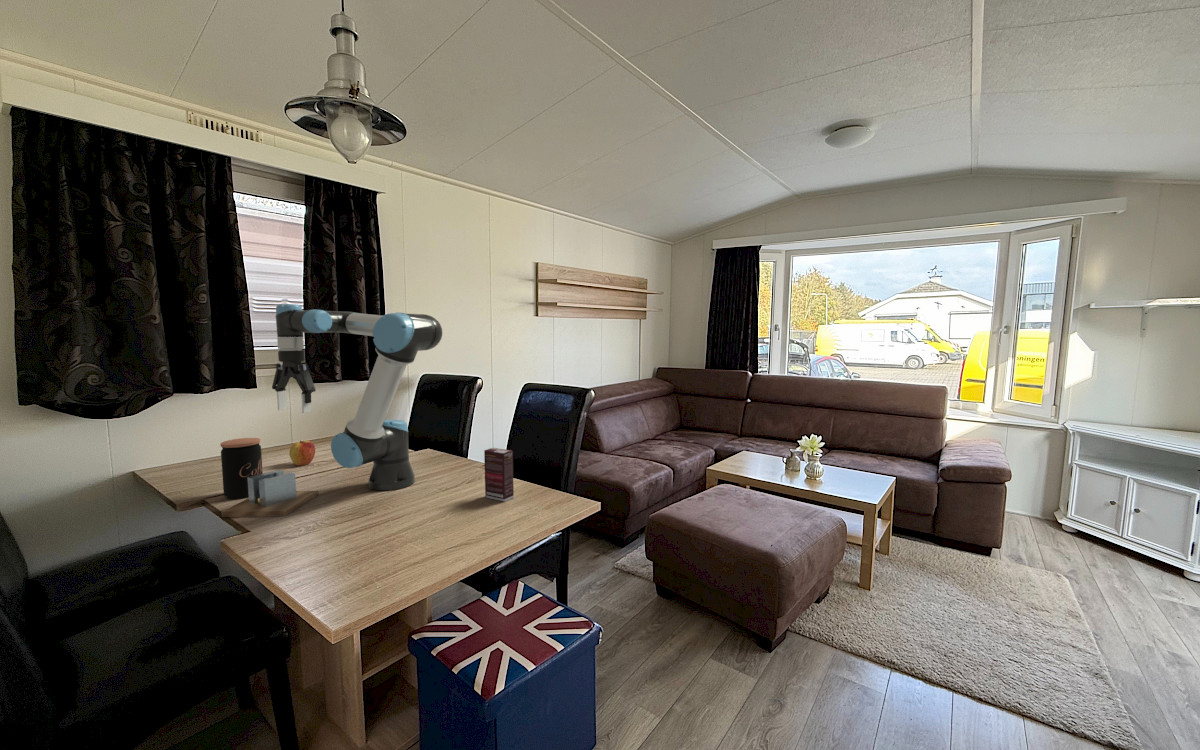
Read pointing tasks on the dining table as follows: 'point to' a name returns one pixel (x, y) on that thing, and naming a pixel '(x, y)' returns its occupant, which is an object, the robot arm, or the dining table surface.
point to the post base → (276, 510)
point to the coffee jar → (240, 465)
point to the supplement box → (499, 474)
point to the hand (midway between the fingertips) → (294, 411)
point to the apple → (302, 452)
